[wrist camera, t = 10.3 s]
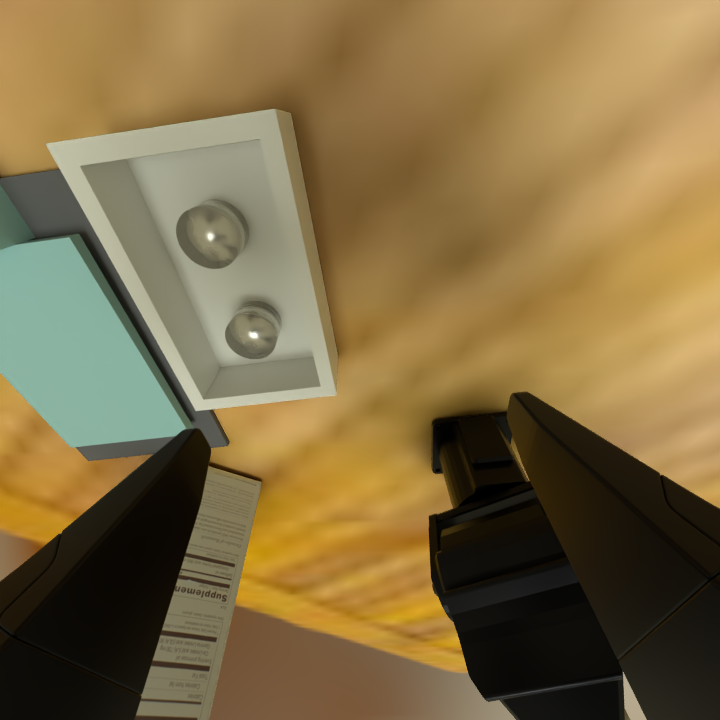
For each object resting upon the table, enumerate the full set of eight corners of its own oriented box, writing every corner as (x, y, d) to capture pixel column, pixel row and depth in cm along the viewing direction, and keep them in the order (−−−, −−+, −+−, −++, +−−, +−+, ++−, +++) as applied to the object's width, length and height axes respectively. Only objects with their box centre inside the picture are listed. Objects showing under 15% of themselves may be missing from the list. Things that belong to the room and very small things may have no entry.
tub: (338, 357, 23) (336, 395, 19) (217, 371, 23) (195, 411, 20) (290, 113, 15) (275, 108, 12) (110, 140, 15) (45, 143, 12)
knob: (286, 338, 21) (281, 356, 19) (243, 343, 21) (234, 361, 19) (274, 297, 19) (268, 313, 18) (228, 304, 19) (217, 319, 18)
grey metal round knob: (255, 252, 18) (246, 265, 16) (205, 259, 18) (190, 272, 16) (238, 195, 16) (226, 203, 14) (183, 203, 16) (165, 211, 15)
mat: (229, 442, 27) (227, 446, 27) (91, 457, 28) (88, 460, 28) (85, 165, 16) (80, 166, 16) (-144, 199, 16) (-155, 201, 16)
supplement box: (230, 526, 35) (156, 787, 21) (135, 503, 32) (-20, 793, 18) (265, 480, 30) (199, 778, 17) (158, 448, 27) (-30, 784, 13)
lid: (196, 421, 25) (170, 472, 22) (82, 434, 26) (37, 486, 22) (41, 152, 15) (-60, 159, 11) (-143, 180, 16) (-299, 196, 12)
